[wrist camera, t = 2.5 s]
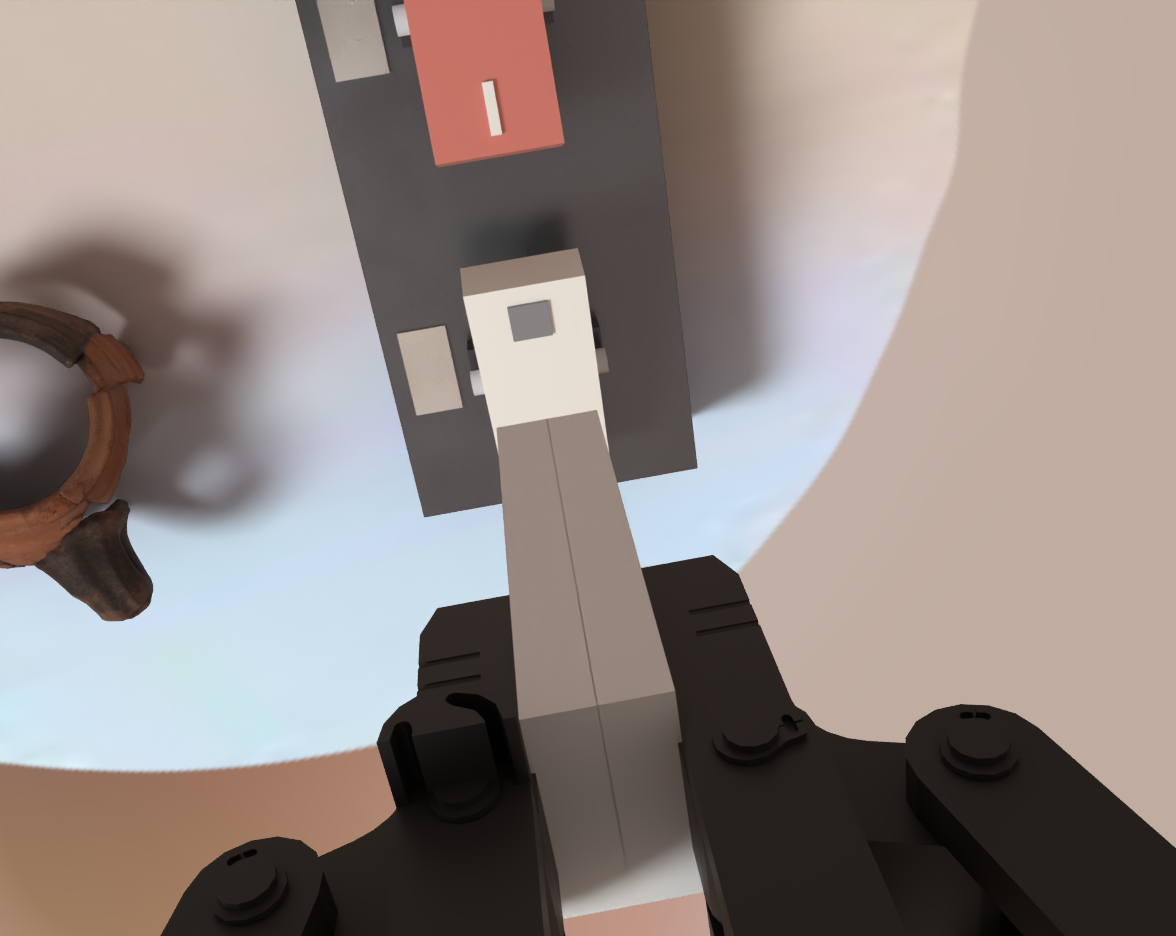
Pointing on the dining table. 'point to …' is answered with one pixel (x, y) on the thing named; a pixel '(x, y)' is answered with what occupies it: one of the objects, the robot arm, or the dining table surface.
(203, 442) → the dining table surface
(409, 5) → the rocker
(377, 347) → the dining table surface
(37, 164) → the dining table surface
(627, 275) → the rocker switch panel
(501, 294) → the rocker
